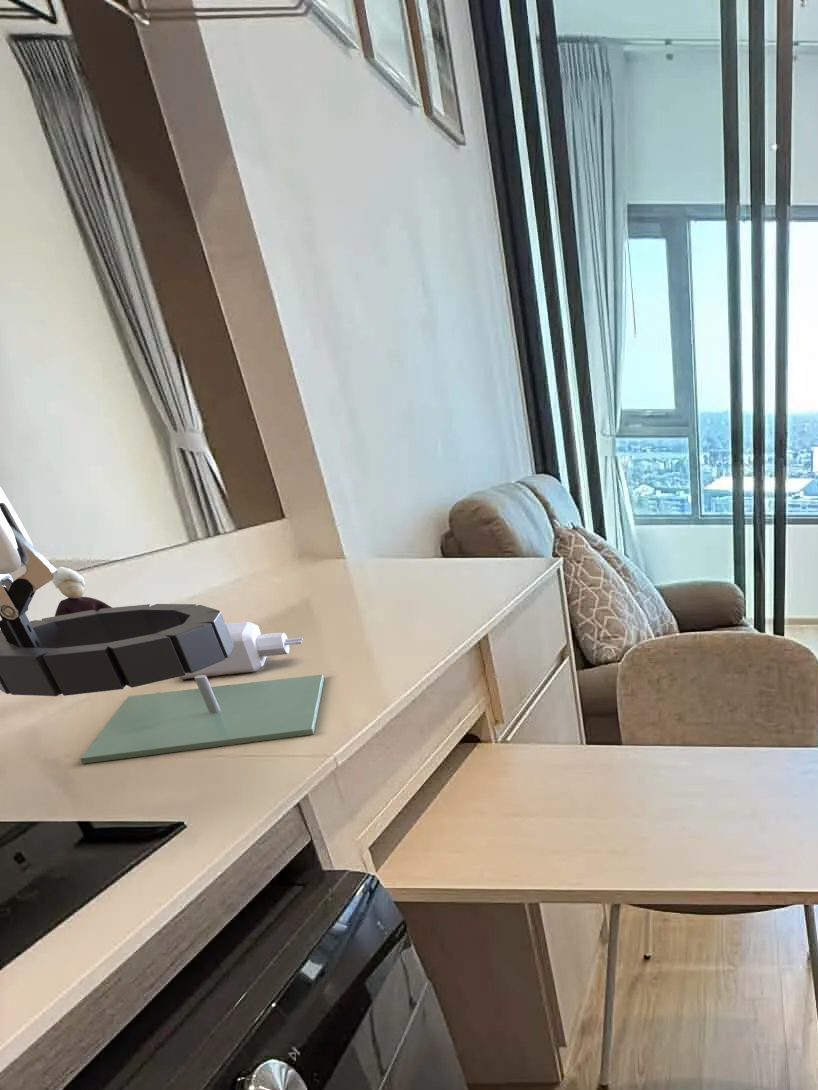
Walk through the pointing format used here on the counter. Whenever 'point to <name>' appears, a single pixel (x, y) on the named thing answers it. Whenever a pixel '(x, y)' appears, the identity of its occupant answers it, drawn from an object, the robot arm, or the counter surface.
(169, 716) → the peg board
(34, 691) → the segmented bracelet
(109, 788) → the counter surface
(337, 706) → the counter surface
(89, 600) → the grandmother figurine
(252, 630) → the charger
